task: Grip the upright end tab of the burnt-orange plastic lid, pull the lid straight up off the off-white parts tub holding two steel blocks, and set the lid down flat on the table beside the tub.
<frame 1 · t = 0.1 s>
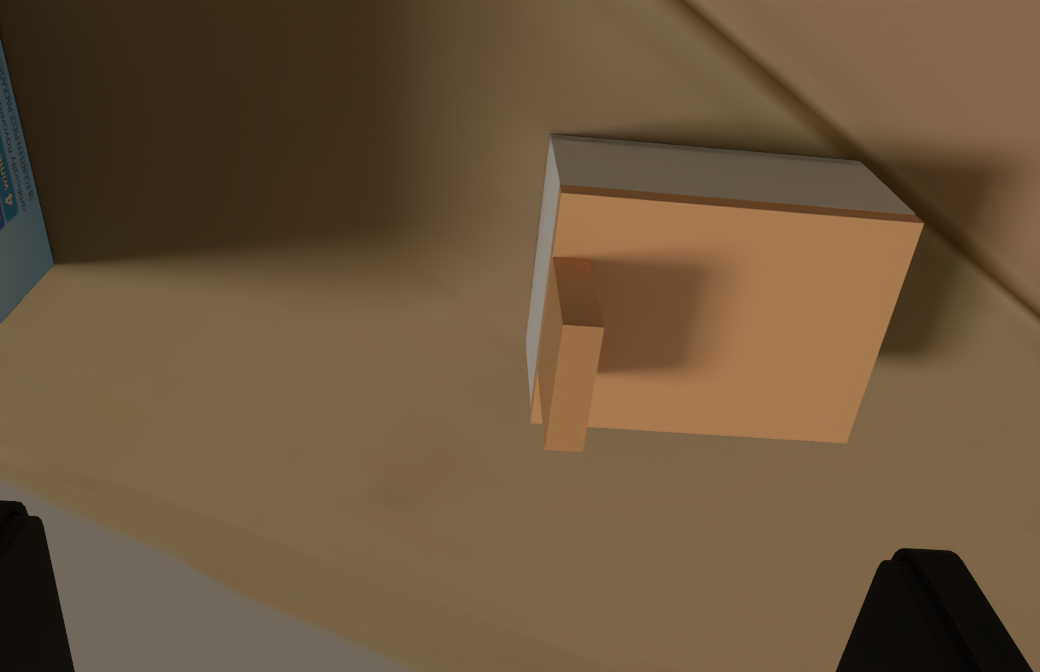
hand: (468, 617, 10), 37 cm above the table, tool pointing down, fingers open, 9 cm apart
lid: (706, 306, 44), point 6 cm above the table, touching tub
tub: (684, 254, 49), on the table
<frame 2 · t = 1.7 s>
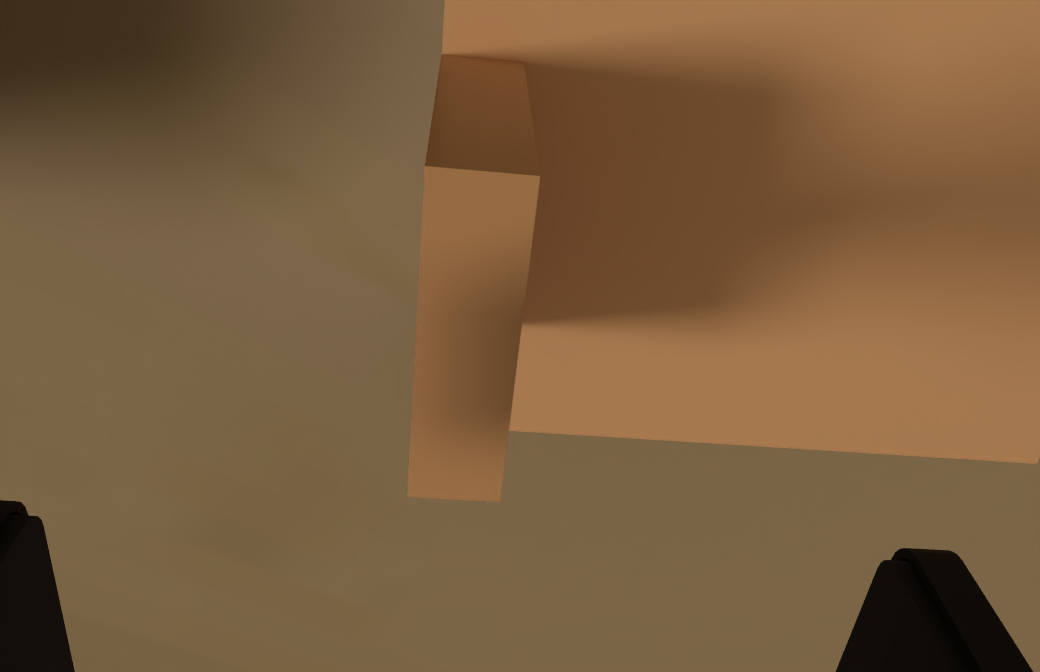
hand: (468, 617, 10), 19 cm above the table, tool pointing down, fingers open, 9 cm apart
lid: (772, 189, 22), point 6 cm above the table, touching tub
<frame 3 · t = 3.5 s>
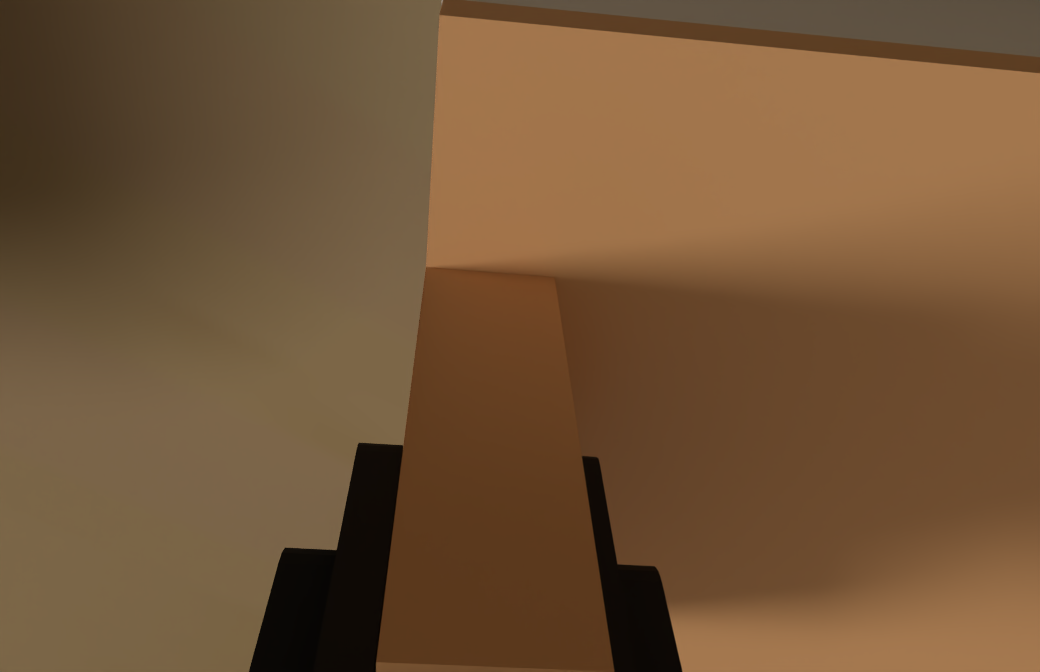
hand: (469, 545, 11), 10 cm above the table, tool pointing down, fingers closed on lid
lid: (902, 406, 15), point 6 cm above the table, touching gripper, tub
tub: (797, 259, 20), on the table
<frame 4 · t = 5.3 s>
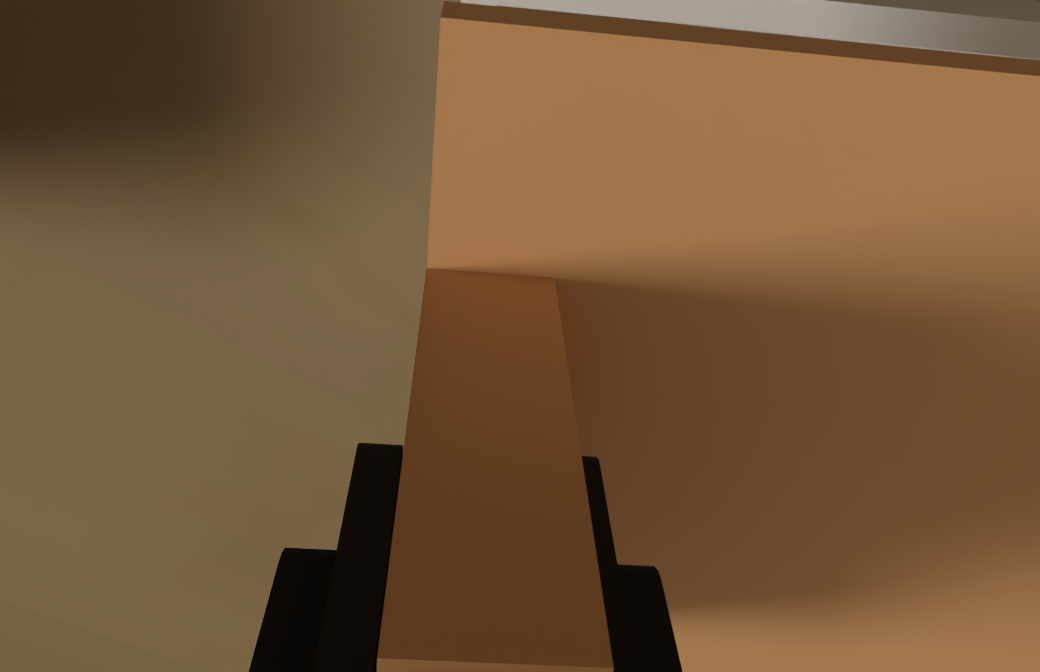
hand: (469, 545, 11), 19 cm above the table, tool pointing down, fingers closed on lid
lid: (901, 408, 15), point 16 cm above the table, touching gripper
tub: (702, 161, 29), on the table
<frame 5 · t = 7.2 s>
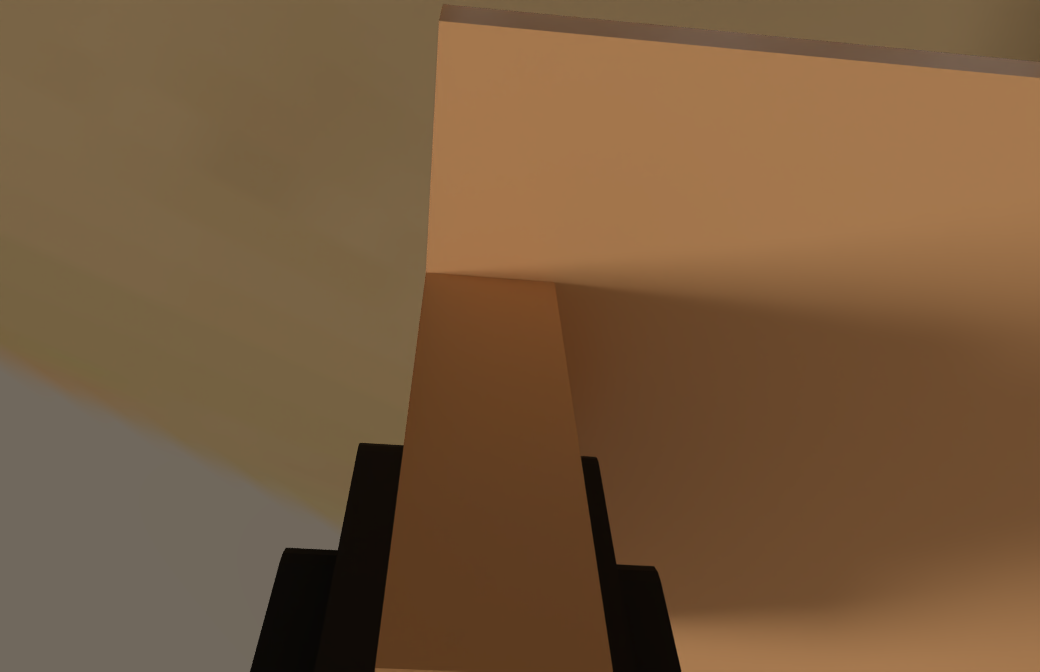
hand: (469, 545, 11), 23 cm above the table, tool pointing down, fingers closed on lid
lid: (903, 411, 15), point 19 cm above the table, touching gripper
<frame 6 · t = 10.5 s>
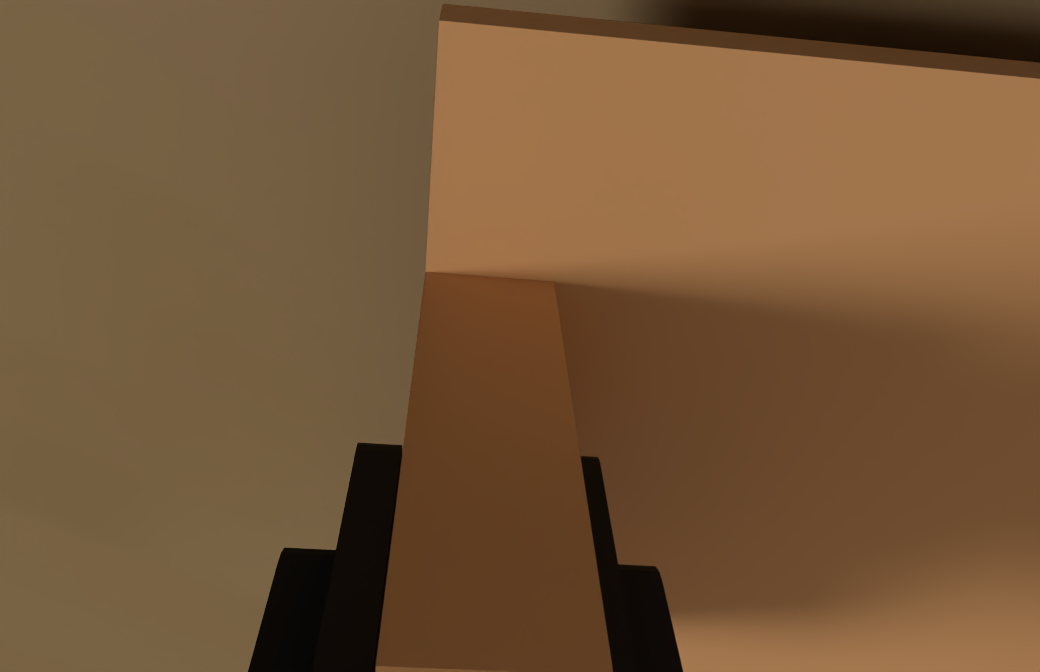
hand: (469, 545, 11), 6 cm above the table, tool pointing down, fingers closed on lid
lid: (901, 411, 15), point 2 cm above the table, touching gripper
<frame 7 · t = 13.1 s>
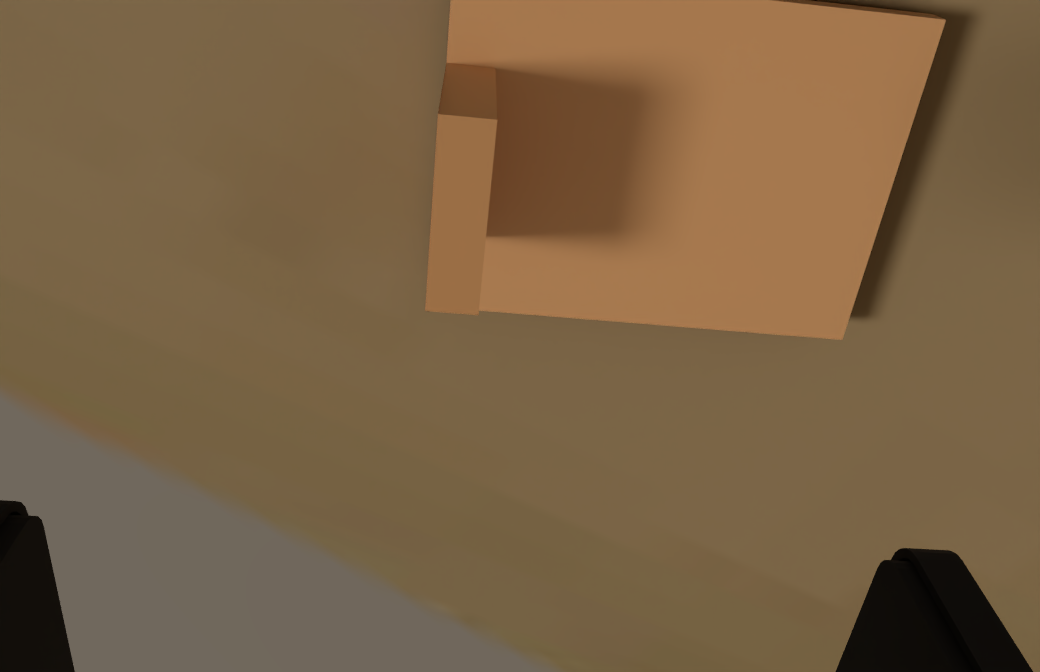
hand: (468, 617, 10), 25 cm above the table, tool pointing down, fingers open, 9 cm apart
lid: (659, 153, 34), on the table
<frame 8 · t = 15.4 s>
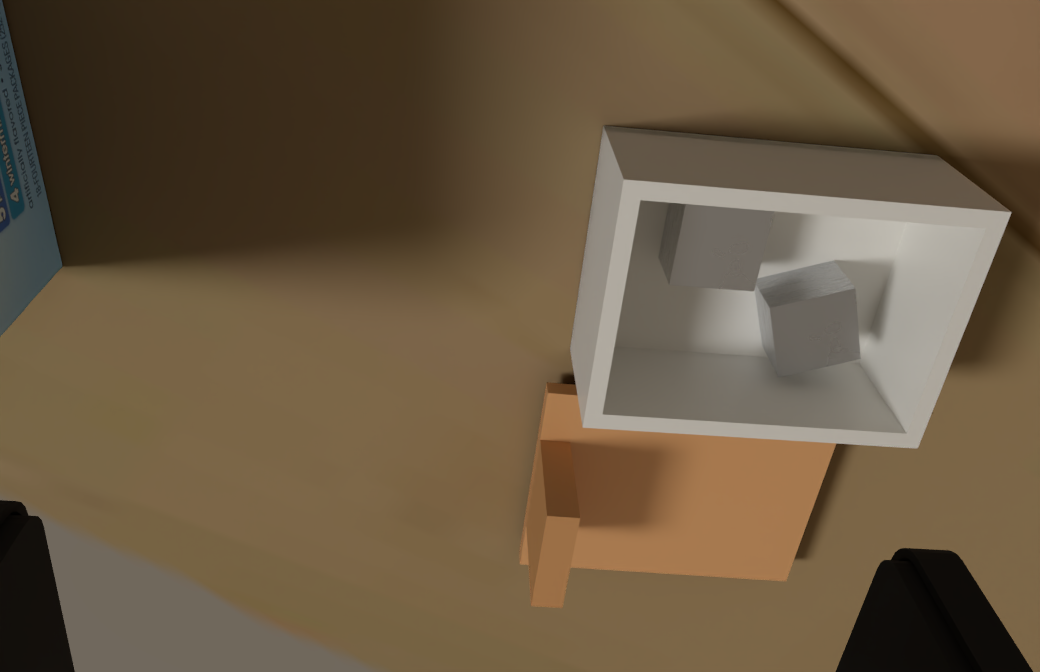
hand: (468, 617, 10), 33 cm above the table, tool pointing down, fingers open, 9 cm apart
steel block B: (797, 304, 46), point 1 cm above the table, touching tub
steel block A: (706, 222, 43), point 1 cm above the table, touching tub
lid: (668, 469, 52), on the table
tub: (744, 257, 45), on the table
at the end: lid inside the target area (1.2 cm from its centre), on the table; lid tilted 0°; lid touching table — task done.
